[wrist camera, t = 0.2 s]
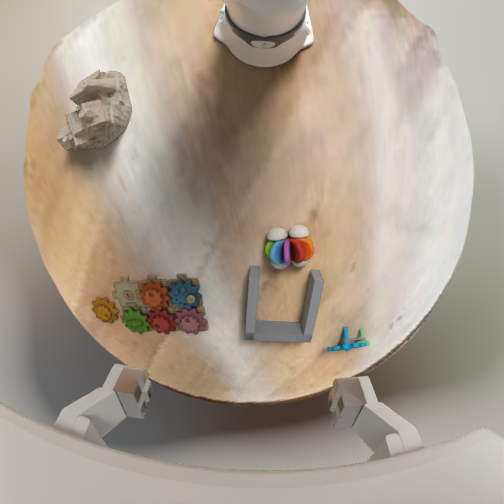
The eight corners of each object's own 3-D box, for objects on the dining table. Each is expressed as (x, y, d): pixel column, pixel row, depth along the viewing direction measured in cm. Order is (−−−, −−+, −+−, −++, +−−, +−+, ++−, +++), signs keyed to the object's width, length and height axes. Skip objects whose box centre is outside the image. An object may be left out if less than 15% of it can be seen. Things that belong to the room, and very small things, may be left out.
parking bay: (249, 265, 61) (249, 276, 57) (319, 270, 61) (324, 281, 57) (245, 326, 67) (244, 339, 63) (307, 329, 68) (310, 342, 63)
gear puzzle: (103, 328, 70) (97, 337, 67) (84, 277, 64) (76, 284, 60) (210, 329, 69) (208, 340, 65) (199, 271, 63) (195, 279, 59)
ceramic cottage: (128, 64, 45) (86, 54, 31) (136, 138, 52) (95, 147, 38) (71, 87, 46) (25, 87, 33) (79, 154, 53) (34, 167, 40)
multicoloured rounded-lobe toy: (312, 259, 61) (318, 275, 54) (266, 264, 61) (267, 281, 55) (310, 221, 57) (317, 233, 51) (262, 226, 58) (262, 239, 51)
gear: (321, 354, 69) (337, 351, 60) (319, 331, 71) (335, 326, 62) (359, 349, 70) (378, 346, 61) (357, 328, 72) (375, 322, 63)
